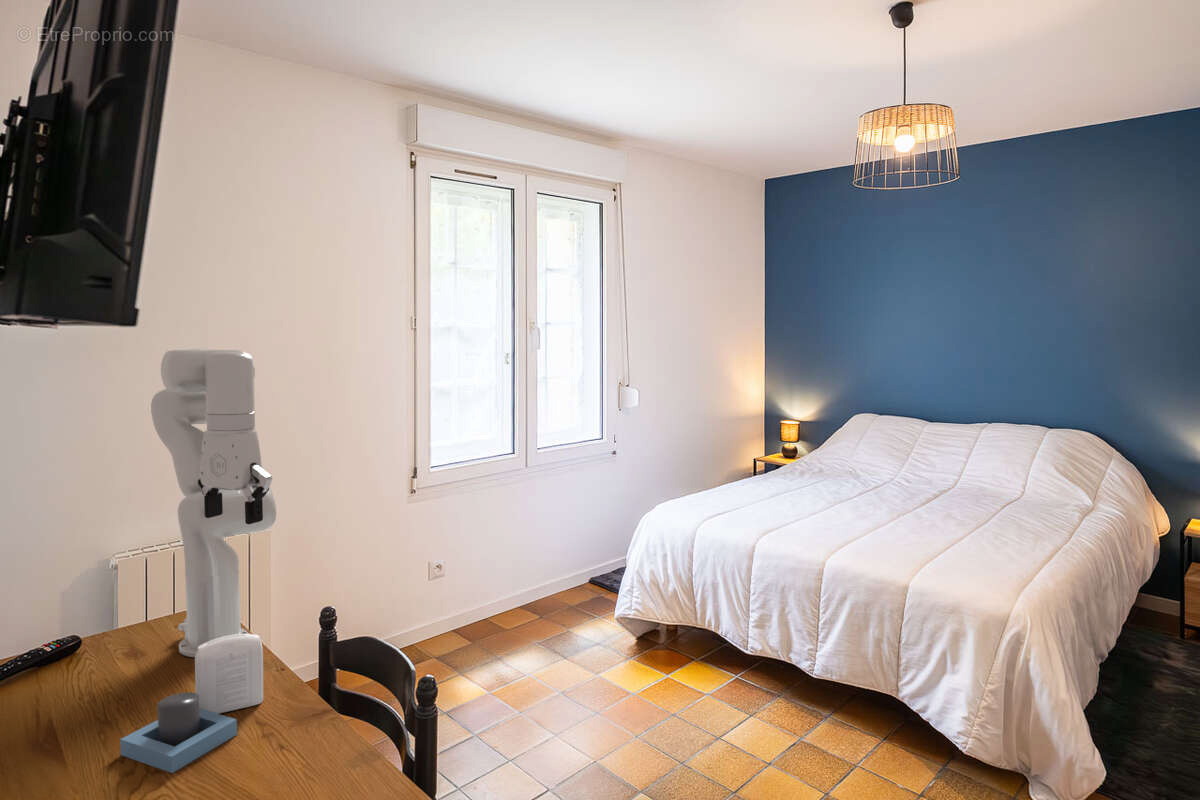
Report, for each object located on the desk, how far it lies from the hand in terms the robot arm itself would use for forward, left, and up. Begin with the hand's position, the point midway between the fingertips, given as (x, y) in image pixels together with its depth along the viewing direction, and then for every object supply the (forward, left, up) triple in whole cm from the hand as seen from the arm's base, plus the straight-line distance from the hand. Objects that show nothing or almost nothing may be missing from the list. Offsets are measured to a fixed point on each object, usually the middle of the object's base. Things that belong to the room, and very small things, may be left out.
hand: (233, 519), depth 127 cm
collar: (+8, -17, -30) cm, 36 cm away
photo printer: (+6, -6, -31) cm, 32 cm away
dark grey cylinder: (+8, -17, -30) cm, 36 cm away
